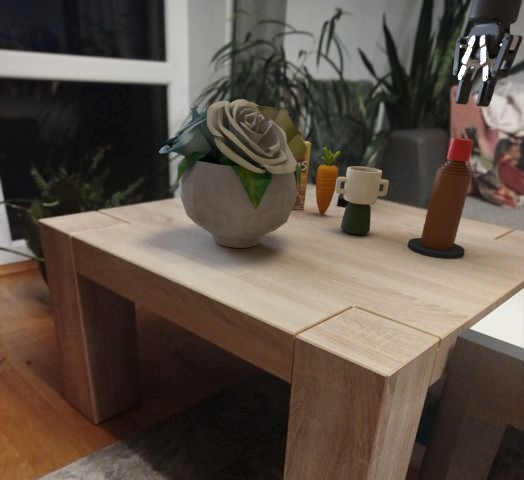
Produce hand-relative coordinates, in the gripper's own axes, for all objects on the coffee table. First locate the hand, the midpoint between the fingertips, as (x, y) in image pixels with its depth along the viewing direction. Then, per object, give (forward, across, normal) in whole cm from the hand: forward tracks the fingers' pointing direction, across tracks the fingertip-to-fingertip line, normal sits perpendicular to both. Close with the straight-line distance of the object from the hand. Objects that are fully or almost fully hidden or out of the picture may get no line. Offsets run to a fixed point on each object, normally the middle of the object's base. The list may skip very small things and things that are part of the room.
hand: (471, 104), depth 88 cm
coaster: (+26, 0, 0) cm, 26 cm away
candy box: (+26, +34, +20) cm, 48 cm away
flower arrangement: (+26, +7, +40) cm, 48 cm away
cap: (+9, 0, 0) cm, 9 cm away
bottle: (+25, 0, 0) cm, 25 cm away
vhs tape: (+26, +40, -1) cm, 48 cm away
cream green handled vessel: (+26, +12, +12) cm, 32 cm away
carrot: (+26, +27, +14) cm, 40 cm away
